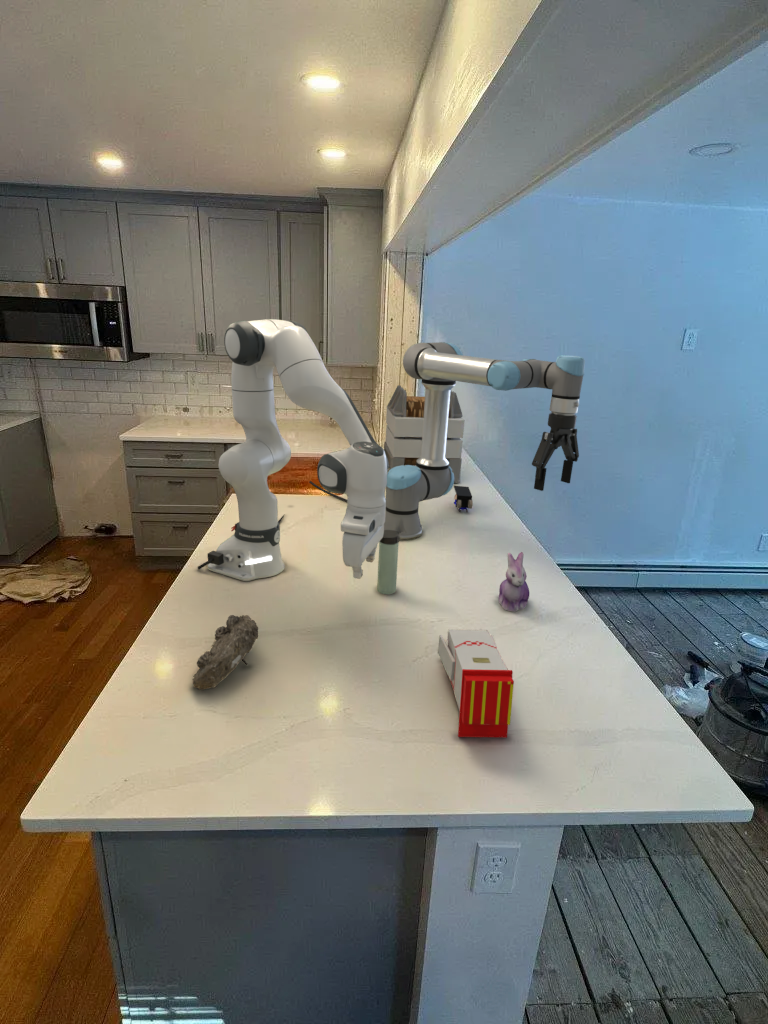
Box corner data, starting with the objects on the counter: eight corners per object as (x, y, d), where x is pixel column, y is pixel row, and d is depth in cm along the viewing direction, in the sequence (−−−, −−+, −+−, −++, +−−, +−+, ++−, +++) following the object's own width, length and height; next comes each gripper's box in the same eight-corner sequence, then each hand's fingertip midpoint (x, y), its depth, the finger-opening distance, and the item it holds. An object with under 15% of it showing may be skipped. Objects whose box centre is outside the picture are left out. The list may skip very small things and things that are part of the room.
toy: (488, 613, 130) (523, 677, 101) (484, 667, 133) (517, 744, 104) (435, 612, 130) (455, 676, 101) (432, 666, 133) (451, 743, 103)
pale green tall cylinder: (386, 583, 163) (388, 530, 158) (399, 590, 160) (402, 535, 154) (373, 589, 160) (375, 534, 154) (386, 596, 156) (389, 540, 151)
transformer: (382, 463, 289) (386, 382, 275) (445, 464, 293) (451, 384, 279) (390, 482, 257) (394, 392, 243) (460, 483, 261) (468, 394, 247)
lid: (388, 534, 159) (388, 528, 158) (403, 540, 155) (404, 534, 154) (374, 539, 155) (374, 533, 154) (389, 546, 151) (389, 539, 150)
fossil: (212, 617, 133) (257, 588, 128) (239, 645, 136) (285, 617, 131) (172, 683, 114) (224, 651, 109) (205, 714, 117) (258, 684, 112)
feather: (291, 508, 223) (294, 504, 222) (274, 533, 196) (277, 528, 195) (287, 506, 222) (290, 502, 222) (270, 530, 196) (272, 526, 195)
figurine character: (472, 517, 222) (467, 501, 236) (475, 500, 219) (469, 484, 233) (455, 517, 222) (451, 500, 236) (457, 499, 219) (452, 484, 232)
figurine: (511, 616, 149) (518, 564, 143) (487, 598, 157) (493, 549, 152) (539, 609, 153) (547, 558, 148) (514, 592, 161) (521, 544, 156)
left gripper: (366, 498, 140) (365, 550, 144) (337, 527, 121) (336, 585, 126) (391, 502, 138) (388, 554, 143) (365, 531, 119) (363, 589, 124)
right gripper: (548, 419, 148) (537, 496, 155) (598, 411, 163) (586, 482, 171) (525, 414, 153) (515, 489, 160) (575, 407, 169) (564, 476, 176)
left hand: (364, 568), depth 134 cm, fingers open, 8 cm apart
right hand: (552, 485), depth 166 cm, fingers open, 13 cm apart
